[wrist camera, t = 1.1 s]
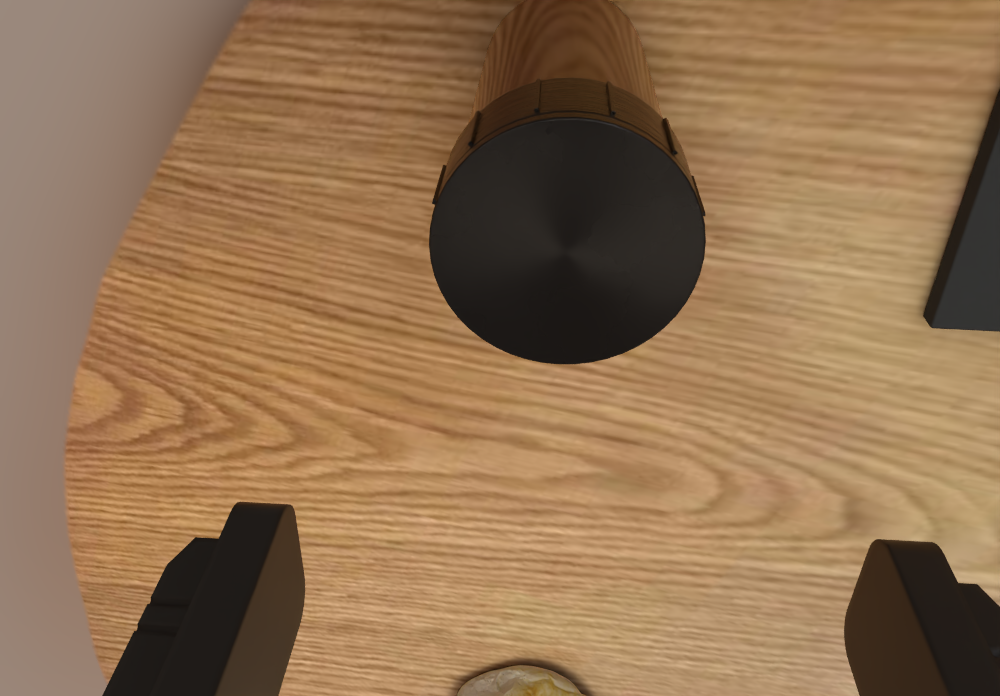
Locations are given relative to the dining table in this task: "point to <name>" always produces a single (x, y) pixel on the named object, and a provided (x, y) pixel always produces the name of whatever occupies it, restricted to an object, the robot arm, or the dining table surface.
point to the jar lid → (567, 223)
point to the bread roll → (519, 683)
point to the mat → (973, 248)
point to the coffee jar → (564, 49)
